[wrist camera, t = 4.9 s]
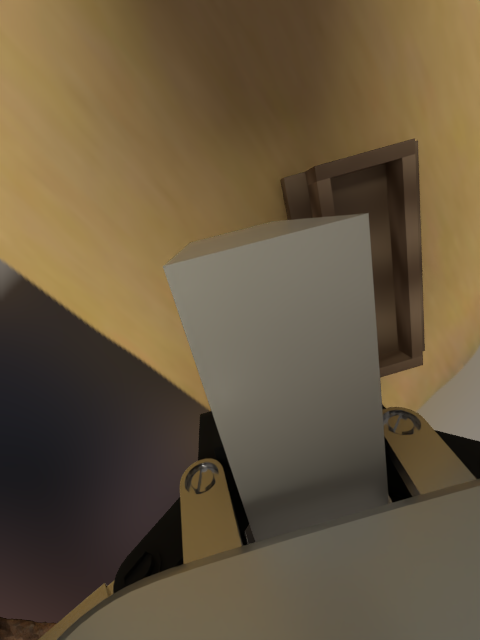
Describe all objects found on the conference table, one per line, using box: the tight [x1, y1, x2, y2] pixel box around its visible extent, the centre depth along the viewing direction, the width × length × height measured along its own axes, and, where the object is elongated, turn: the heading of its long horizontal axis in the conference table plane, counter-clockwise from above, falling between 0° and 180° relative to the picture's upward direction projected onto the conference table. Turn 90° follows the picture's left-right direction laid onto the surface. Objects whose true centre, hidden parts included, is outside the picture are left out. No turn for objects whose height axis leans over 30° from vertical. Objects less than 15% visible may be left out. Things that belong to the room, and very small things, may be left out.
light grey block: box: [163, 213, 389, 542], centre depth 10 cm, size 14×4×7 cm, turn 14°
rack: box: [281, 139, 425, 377], centre depth 24 cm, size 19×11×3 cm, turn 15°
